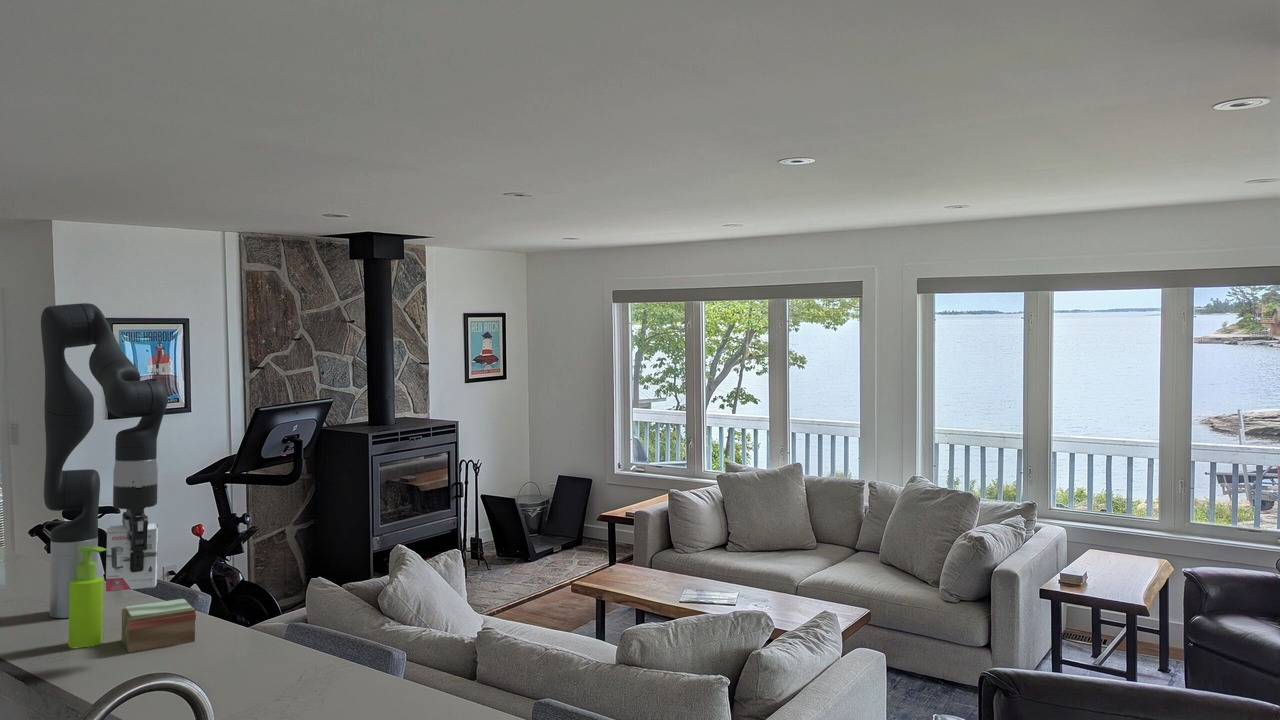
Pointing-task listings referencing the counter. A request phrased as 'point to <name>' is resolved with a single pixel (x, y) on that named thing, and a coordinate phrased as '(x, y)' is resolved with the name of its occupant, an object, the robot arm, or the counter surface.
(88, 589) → the soap dispenser
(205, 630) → the counter surface
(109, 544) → the ink box
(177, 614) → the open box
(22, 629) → the counter surface
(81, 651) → the counter surface
